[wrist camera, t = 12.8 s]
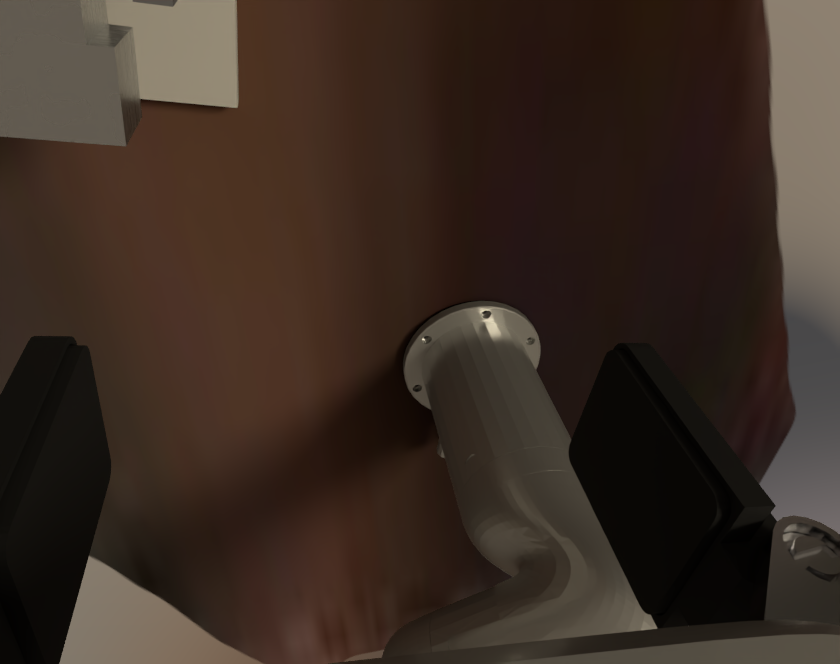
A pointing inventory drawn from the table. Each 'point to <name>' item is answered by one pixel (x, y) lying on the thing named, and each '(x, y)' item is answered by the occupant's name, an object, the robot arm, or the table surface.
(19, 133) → the grey upright bar
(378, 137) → the table surface
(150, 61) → the rack
